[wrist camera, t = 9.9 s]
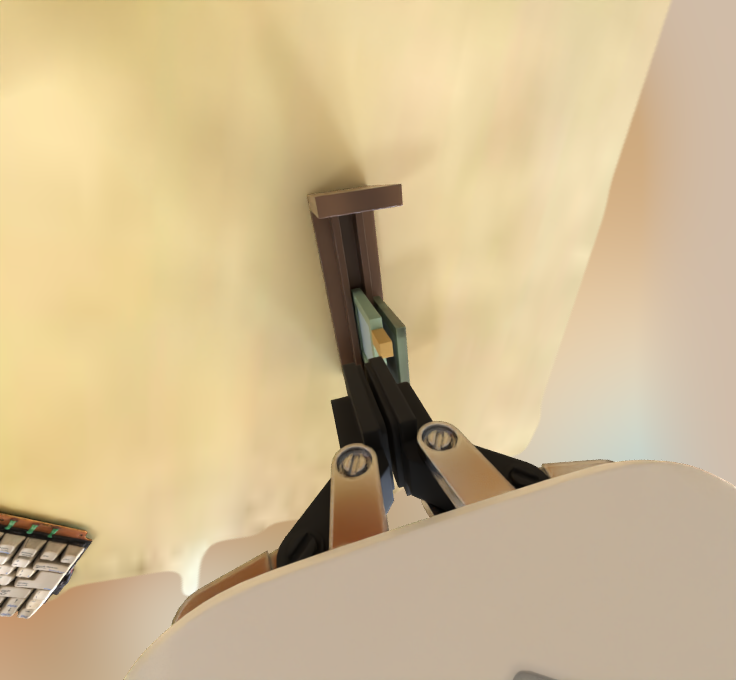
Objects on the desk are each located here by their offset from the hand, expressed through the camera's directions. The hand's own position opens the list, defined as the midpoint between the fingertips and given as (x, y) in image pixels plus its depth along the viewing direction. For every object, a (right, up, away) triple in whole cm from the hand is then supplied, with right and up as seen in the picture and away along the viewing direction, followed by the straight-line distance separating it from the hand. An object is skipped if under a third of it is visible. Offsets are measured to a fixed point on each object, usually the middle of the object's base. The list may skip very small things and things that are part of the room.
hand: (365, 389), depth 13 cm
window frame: (-2, +8, +27) cm, 28 cm away
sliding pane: (-1, +4, +27) cm, 27 cm away
